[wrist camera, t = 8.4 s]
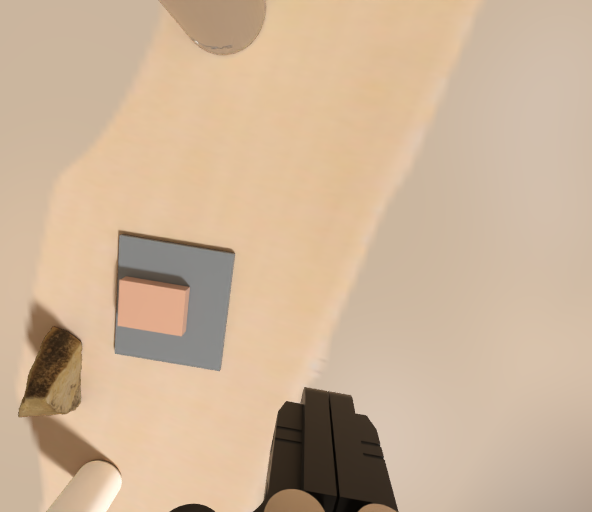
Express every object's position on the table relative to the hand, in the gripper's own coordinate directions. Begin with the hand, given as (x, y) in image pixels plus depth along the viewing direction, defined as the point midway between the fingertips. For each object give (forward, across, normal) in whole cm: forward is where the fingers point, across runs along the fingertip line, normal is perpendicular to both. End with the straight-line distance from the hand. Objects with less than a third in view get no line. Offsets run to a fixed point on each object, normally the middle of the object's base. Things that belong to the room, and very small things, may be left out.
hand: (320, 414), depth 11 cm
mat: (+30, +16, +12) cm, 36 cm away
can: (+30, +24, +41) cm, 56 cm away
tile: (+29, +14, +12) cm, 34 cm away
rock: (+30, +29, +24) cm, 48 cm away
